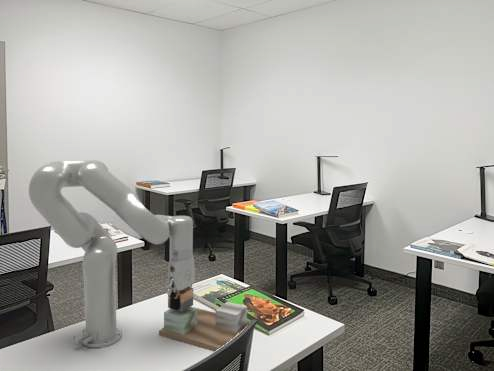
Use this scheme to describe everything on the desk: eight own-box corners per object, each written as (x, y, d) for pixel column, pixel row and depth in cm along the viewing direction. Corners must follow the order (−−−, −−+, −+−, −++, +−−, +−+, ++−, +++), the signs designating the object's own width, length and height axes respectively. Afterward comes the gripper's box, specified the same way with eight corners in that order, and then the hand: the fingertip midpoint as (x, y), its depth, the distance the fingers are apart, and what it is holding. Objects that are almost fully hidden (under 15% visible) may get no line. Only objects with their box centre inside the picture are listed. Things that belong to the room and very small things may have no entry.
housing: (183, 311, 138) (183, 291, 137) (168, 307, 141) (168, 287, 140) (193, 305, 144) (193, 285, 143) (178, 301, 146) (178, 281, 145)
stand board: (221, 353, 130) (222, 330, 129) (158, 334, 141) (158, 313, 140) (251, 325, 149) (251, 305, 148) (193, 311, 160) (193, 292, 159)
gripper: (175, 262, 130) (174, 317, 133) (204, 248, 146) (203, 298, 148) (155, 258, 134) (155, 312, 136) (186, 245, 149) (185, 294, 152)
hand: (180, 304), depth 142 cm, fingers closed on housing, 6 cm apart
